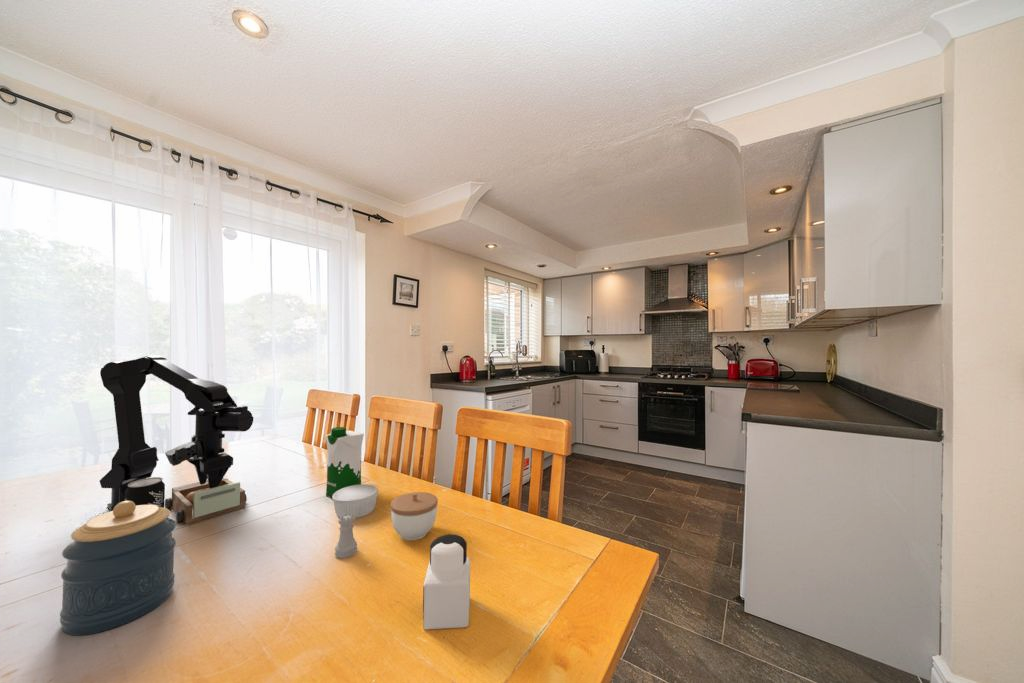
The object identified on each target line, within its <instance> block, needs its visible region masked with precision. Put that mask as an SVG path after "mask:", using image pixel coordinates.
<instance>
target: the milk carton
mask: <svg viewBox="0 0 1024 683" xmlns="http://www.w3.org/2000/svg"><path fill="white" fill-rule="evenodd" d="M364 435H365V433H364V432H363V433H362V432H358V431H354V430H347V427H345V426H339V427H333V428H331V429H330V433H329V434H325V441H326V442H325V443H326V448H327V450H326V451H327V460H326V461H327V463H326V464H327V466H326V471H327V472H326V489H325V496H326V495H327V497H329V498H331V497H332V496H333V494H334V493H335V492H336V491H338V490H340V489H342V488H345V487H348V486H353V485H360V484H362V445H363V440H364Z"/></svg>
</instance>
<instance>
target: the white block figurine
mask: <svg viewBox="0 0 1024 683" xmlns="http://www.w3.org/2000/svg"><path fill="white" fill-rule="evenodd" d="M467 546H468V545H467V540H466V539H465V538H464V537H463V536H461V535H459V534H454V533H453V534H452V533H451V534H450V533H448V534H442V535H440V536H438V537H436V538H434V539H433V540H432V542H431V543H430V546H429V562H428V566H427V570H426V574H425V579H424V581H423V588H422V589H423V590H422V594H423V595H422V599H423V600H422V629H423V630H424V631H425V630H427V631H428V630H442V629H444V630H445V629H459V628H461V629H462V628H463V629H464V628H467V627H468V626H469V625H470V624H469V623H470V620H469V619H470V603H471V602H470V601H471V600H470V599H471V558H470V557H469V556H468V557H467V554H468V553H467V551H468V550H467V549H468V548H467Z"/></svg>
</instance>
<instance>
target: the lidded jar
mask: <svg viewBox="0 0 1024 683" xmlns="http://www.w3.org/2000/svg"><path fill="white" fill-rule="evenodd" d="M438 500H439V499H438V497H437V496H436V495H435V494H432V493H429V492H425V491H424V492H422V491H415V492H414V491H413V492H407V493H404V494H402V495H399V496H396V497H395V498H393V500H391V503H390V511H391V512H390V513H391V514H390V515H391V522H392V527H393V529H394V531H395V533H397V535H399V536H400V537H401V539H403V540H406V541H417V540H420V539H422V538H425V537H426V535H427V534H428V533H429V532H430V530H431V529H432V528H433V526H434V524H435V522H436V519H437V512H438Z"/></svg>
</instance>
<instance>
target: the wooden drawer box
mask: <svg viewBox="0 0 1024 683" xmlns="http://www.w3.org/2000/svg"><path fill="white" fill-rule="evenodd" d="M231 483H234V482H233V481H232V480H229V479H228V478H224V477H223V479H222V481H221V482H220V484H219V486H223V485H227V484H231ZM206 488H209V484H208V479H207V481H206V483H205V484H200V482H199V481H197V482H193V483H188V484H184V485H180V486H175V487H171V497H169V498H164V508H166V509H168V510H169V509H172V510H173V511H174V512H175V520H176V521H175V522H176V523H179V522H184V524H186V525H191V524H193V523H196V522H200V521H202V520H205V519H207V520H208V519H210V518H213V517H217V516H220V515H223V514H226V513H230V512H234V511H236V510H239V509H243V508H245V507H246V506H245V505H246V503H247V499H248V498H247V494H246V490H245V489H243V488H242V487H240V505H237V506H234V507H230V508H227V509H223V510H220V511H217V512H213V513H210V514H206V515H203V516H199V517H196V518H194V517H193V504H191V503H190V502H189V501H188V500H187V499H186V496H187V495H188V494H189V493H191V492H194V491H198V490H202V489H206Z"/></svg>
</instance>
